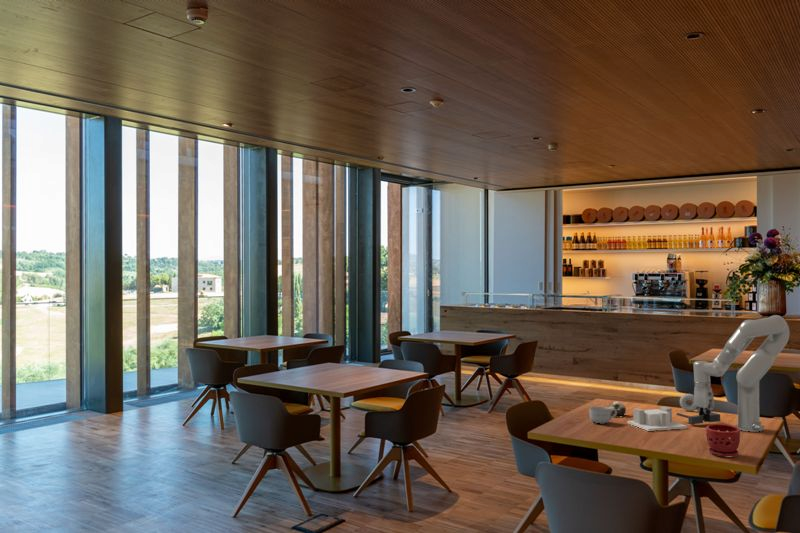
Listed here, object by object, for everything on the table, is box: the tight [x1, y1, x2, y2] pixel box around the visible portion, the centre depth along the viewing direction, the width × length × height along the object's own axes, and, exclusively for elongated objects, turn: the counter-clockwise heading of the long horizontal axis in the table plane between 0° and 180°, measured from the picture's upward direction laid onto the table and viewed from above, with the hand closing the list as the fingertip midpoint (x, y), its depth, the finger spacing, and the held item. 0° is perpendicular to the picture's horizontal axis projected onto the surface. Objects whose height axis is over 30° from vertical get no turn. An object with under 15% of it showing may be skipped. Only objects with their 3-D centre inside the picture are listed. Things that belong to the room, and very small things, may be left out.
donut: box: [679, 393, 697, 412], centre depth 369 cm, size 10×4×10 cm, turn 60°
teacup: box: [588, 406, 617, 425], centre depth 343 cm, size 14×11×8 cm
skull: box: [608, 401, 627, 418], centre depth 361 cm, size 12×10×10 cm
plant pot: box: [705, 423, 741, 457], centre depth 282 cm, size 13×13×12 cm
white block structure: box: [626, 406, 688, 432], centre depth 334 cm, size 18×22×8 cm
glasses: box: [676, 411, 721, 425], centre depth 341 cm, size 12×17×4 cm
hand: (704, 420), depth 337 cm, fingers closed on glasses, 2 cm apart
